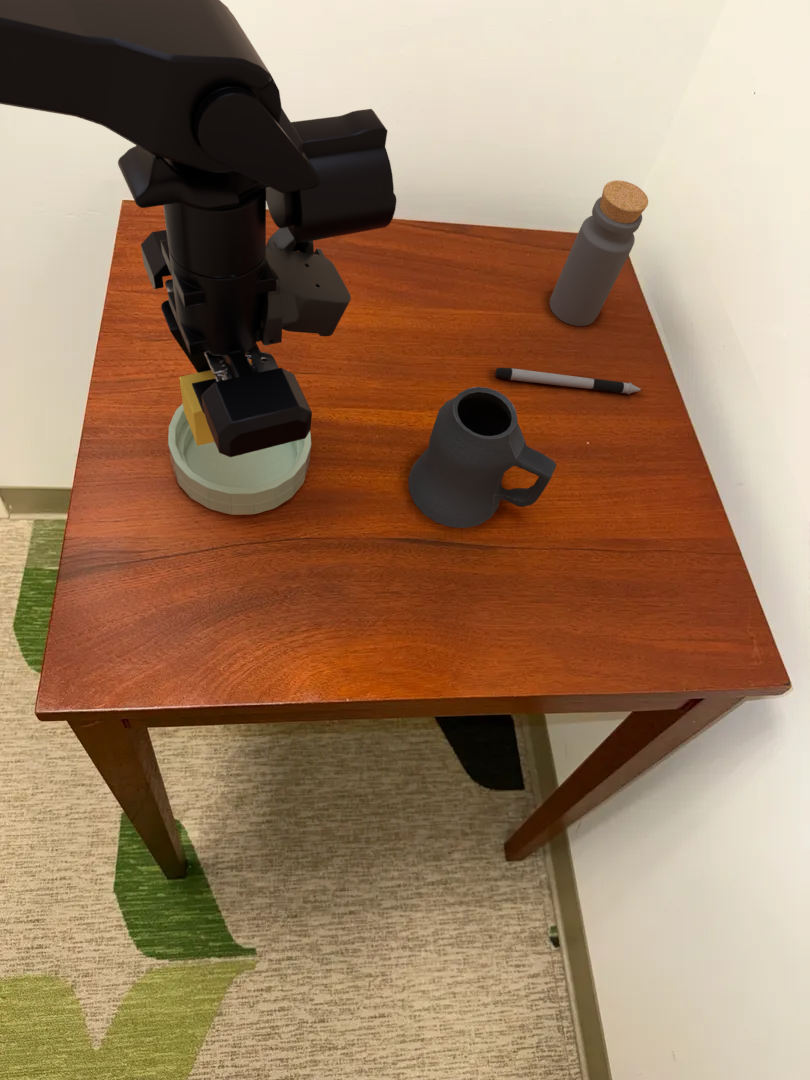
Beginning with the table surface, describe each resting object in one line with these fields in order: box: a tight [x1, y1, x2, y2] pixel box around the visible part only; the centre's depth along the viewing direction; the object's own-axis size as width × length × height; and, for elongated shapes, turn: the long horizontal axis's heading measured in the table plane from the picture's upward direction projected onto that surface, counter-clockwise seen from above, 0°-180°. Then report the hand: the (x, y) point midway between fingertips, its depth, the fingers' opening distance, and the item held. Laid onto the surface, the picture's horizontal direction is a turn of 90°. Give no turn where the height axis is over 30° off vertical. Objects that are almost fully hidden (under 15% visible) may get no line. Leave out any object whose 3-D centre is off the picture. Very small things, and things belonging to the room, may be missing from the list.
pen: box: [494, 367, 642, 395], centre depth 82 cm, size 1×16×1 cm, turn 90°
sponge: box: [179, 361, 251, 446], centre depth 59 cm, size 6×4×4 cm, turn 114°
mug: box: [407, 386, 557, 529], centre depth 68 cm, size 12×9×11 cm
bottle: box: [549, 180, 649, 327], centre depth 83 cm, size 6×6×15 cm
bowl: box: [167, 403, 312, 516], centre depth 69 cm, size 12×12×4 cm
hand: (227, 411), depth 59 cm, fingers closed on sponge, 3 cm apart
